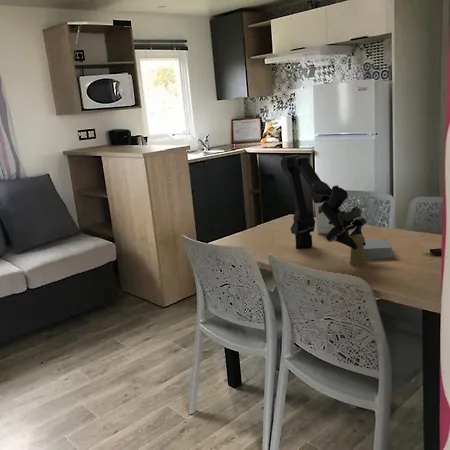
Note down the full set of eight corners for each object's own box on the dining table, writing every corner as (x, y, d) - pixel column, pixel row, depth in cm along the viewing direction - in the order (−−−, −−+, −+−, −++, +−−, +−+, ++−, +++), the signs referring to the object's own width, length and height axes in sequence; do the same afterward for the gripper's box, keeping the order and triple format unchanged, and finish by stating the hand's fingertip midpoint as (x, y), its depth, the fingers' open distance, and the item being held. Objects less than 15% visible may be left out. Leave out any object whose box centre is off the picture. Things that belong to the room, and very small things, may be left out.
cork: (356, 267, 180) (355, 238, 177) (346, 263, 185) (345, 234, 183) (370, 263, 182) (369, 235, 180) (359, 259, 187) (358, 231, 185)
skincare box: (338, 231, 231) (336, 198, 227) (333, 234, 225) (331, 201, 222) (321, 230, 235) (319, 198, 232) (316, 233, 230) (314, 201, 226)
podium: (359, 259, 188) (358, 249, 187) (356, 250, 200) (355, 240, 199) (392, 257, 186) (391, 247, 185) (386, 248, 198) (386, 238, 197)
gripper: (331, 206, 175) (358, 240, 170) (361, 196, 187) (388, 228, 181) (314, 225, 183) (340, 258, 177) (344, 214, 195) (370, 245, 189)
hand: (360, 247), depth 181 cm, fingers closed on cork, 5 cm apart
